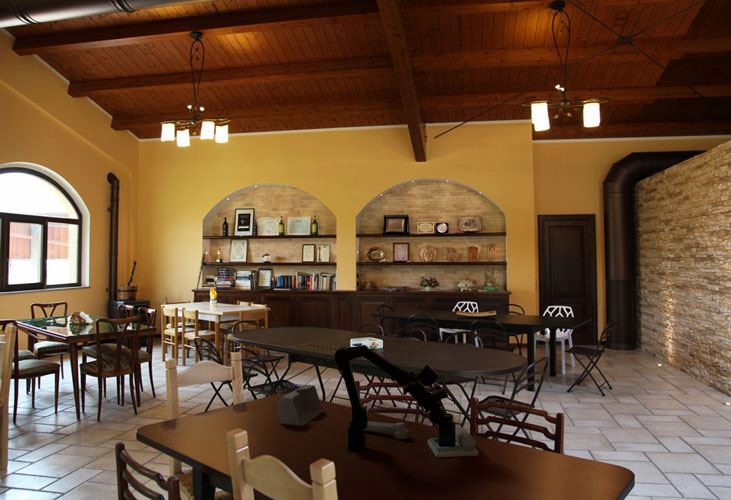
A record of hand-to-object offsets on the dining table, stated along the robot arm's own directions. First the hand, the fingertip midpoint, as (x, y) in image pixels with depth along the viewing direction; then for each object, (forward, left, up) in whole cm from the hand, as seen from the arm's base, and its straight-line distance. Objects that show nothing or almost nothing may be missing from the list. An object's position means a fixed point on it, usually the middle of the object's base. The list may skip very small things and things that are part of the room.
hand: (449, 424), depth 200 cm
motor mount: (+1, 0, -10) cm, 10 cm away
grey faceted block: (-59, +48, -10) cm, 77 cm away
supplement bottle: (-1, 0, -8) cm, 8 cm away
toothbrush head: (-24, +21, -10) cm, 33 cm away
